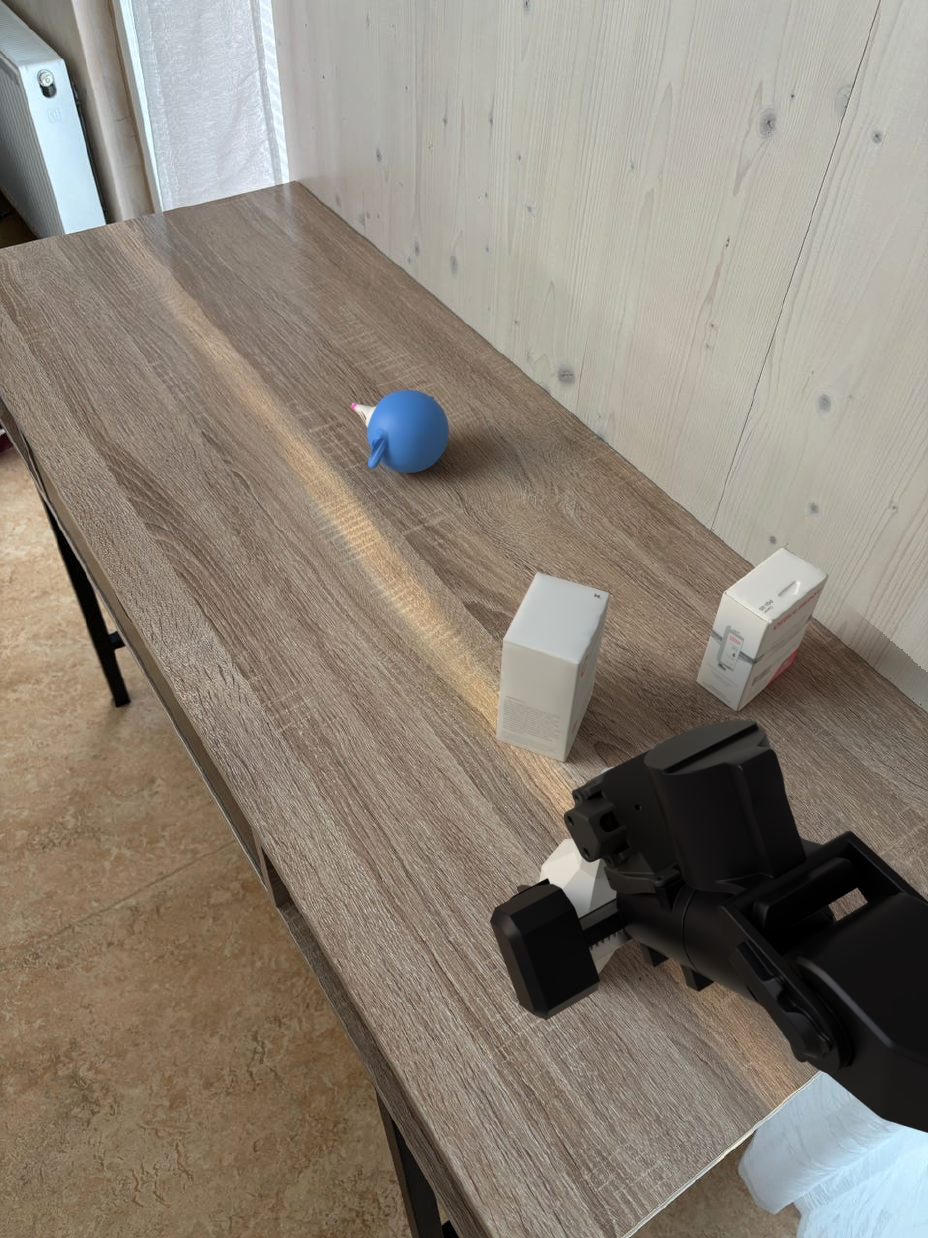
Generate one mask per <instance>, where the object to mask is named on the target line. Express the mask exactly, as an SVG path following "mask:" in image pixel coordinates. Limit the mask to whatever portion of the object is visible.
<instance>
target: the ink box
mask: <svg viewBox="0 0 928 1238" xmlns="http://www.w3.org/2000/svg"><path fill="white" fill-rule="evenodd" d="M829 576H830V574H829V573H827V572H825V571H824V570H822V569H821V568H819V567H818V566H816V565H815V564H813V563H812V562H810V561H809V560H807V559H805V558H804V557H802V556H801V555H799V554H797V553H796V552H794V551H792V550H790V549H789V548H786V547H781V548H779V549H778V550H776V551H775V552H774V553H772V554H771V555H770V556H768V557H767V558H766V559H765V560H763V561H762V562H761V563H760V564H758V565H757V566H755V567H754V568H753V569H751V570H750V571H749V572H748V573H746V575H744V576H742V578H740V579H739V580H737V581H736V582H735V583H733V585H731V586H730V587H729V588H727V589H726V590H724V591H723V593H722V596H721V599H720V601H719V602H720V603H719V605H718V609H717V612H716V615H715V619H714V621H713V625H712V629H711V632H710V635H709V639H708V642H707V644H706V648H705V651H704V655H703V658H702V661H701V665H700V667H699V670H698V672H697V673H698V674H697V677H696V682H697V684H699V685H700V686H701V687H702V688H704V689H705V690H706V691H708V692H709V693H710V694H711V695H713V696H714V697H716V698H717V699H718V700H720V701H721V702H722V703H724V705H727V706H728V707H729V708H731V709H732V710H733V711H734V712H739V711H741V710H742V709H743V708H744V707H745V706H746V705H747V704H748V703H750V702H751V701H752V700H753V699H754V698H755V697H756V696H757V695H758V694H760V693H761V692H762V691H763V690H764V689H765V688H766V687H767V686H768V685H770V683H771V682H773V681H774V680H775V679H777V678H778V676H780V675H781V674H782V673H783V672H784V671H785V670H786V669H788V668H789V667H790V666H791V665H792V664H793V661H794V659H795V657H796V655H797V652H798V650H799V648H800V645H801V643H802V640H803V638H804V635H805V633H806V631H807V629H808V626H809V624H810V621H811V618H812V617H813V614H814V612H815V610H816V607H817V605H818V602H819V600H820V598H821V596H822V593H823V590H824V588H825V586H826V584H827V581H828V579H829Z"/></svg>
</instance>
